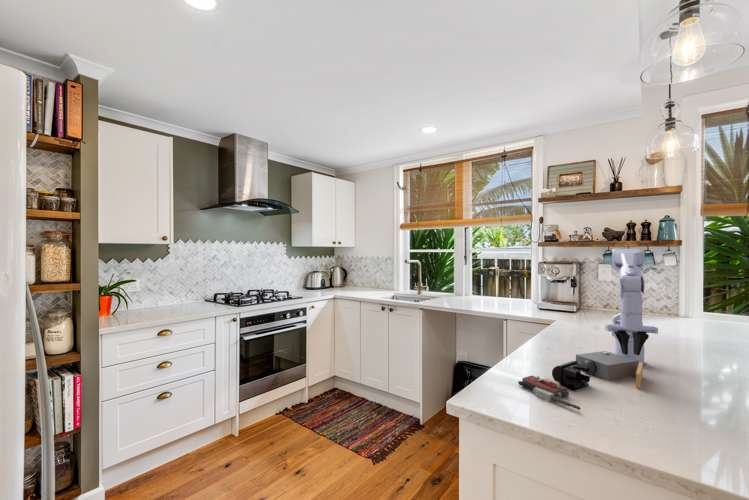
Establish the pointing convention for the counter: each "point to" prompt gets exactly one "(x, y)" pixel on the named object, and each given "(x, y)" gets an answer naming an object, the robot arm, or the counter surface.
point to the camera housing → (608, 365)
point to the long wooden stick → (639, 375)
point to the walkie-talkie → (547, 389)
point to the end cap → (571, 375)
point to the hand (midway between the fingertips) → (630, 354)
